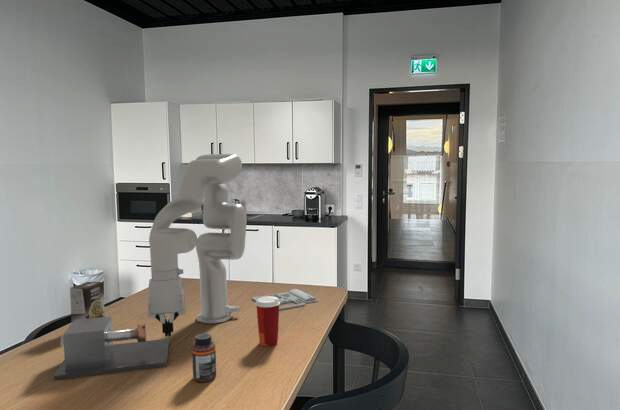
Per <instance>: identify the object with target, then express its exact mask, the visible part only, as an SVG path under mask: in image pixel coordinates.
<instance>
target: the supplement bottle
mask: <svg viewBox="0 0 620 410" xmlns="http://www.w3.org/2000/svg"><path fill="white" fill-rule="evenodd" d="M216 354H217V353H216V343H214V341H212V334H211V333H203V332H202V333H200V334H197V335H196V336H195V342H194V344H193V345H192V347H191V355H192V357H191V359H192V378H193V380H194V381H196V382H199V383H207V382H210V381H212V380H214V379H215V378H216V377H217V355H216Z"/></svg>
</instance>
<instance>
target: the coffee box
mask: <svg viewBox="0 0 620 410" xmlns="http://www.w3.org/2000/svg"><path fill="white" fill-rule="evenodd" d="M69 296H70V299H69V300H70V316H71V323H72V322H73V321H74V320H78V319H89V318H100V317H106V315H105V314H106V312H105V310H106V309H105V292H104V281H86V282H83V283H80V284H77V285H74V286H70V287H69Z"/></svg>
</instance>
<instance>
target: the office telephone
mask: <svg viewBox="0 0 620 410" xmlns="http://www.w3.org/2000/svg"><path fill="white" fill-rule="evenodd" d="M266 296H273V297H277V298H278V299H279V301H280V304H279V312H281V311H283V310H284V311H285V310H290V309H296V308H301V307H305V306H307V305H308V304H313V303H317V302H319V299H318V298H316V297H314V296H312V295H310V294H308V293H307V292H305V291H302V290H300V289H297V288H293V289H290V290H289V291H286V292H280V293H279V292H278V293H273V294H267V295H266V294H264V295H259V296H253V297H251V300H252V301H253V302H255V303H256V301H257V299H258V298H261V297H266ZM290 303H294V304H292V305H287V306H281V307H280V305H284V304H285V305H286V304H290Z"/></svg>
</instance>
